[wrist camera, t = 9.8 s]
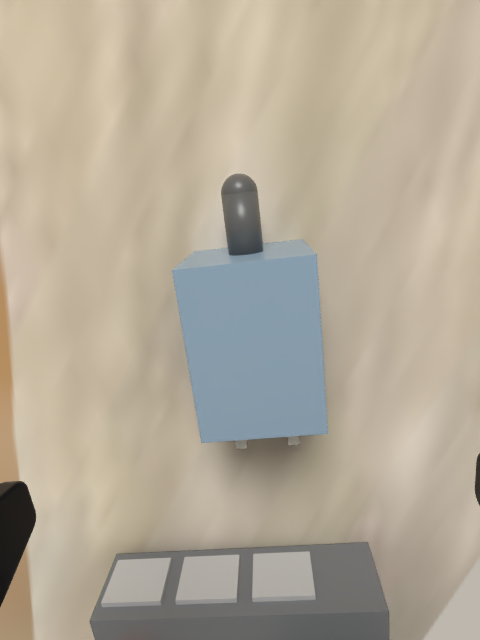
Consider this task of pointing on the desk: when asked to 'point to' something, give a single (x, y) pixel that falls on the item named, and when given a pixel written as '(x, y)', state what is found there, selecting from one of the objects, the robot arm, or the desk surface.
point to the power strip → (244, 595)
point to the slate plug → (253, 330)
